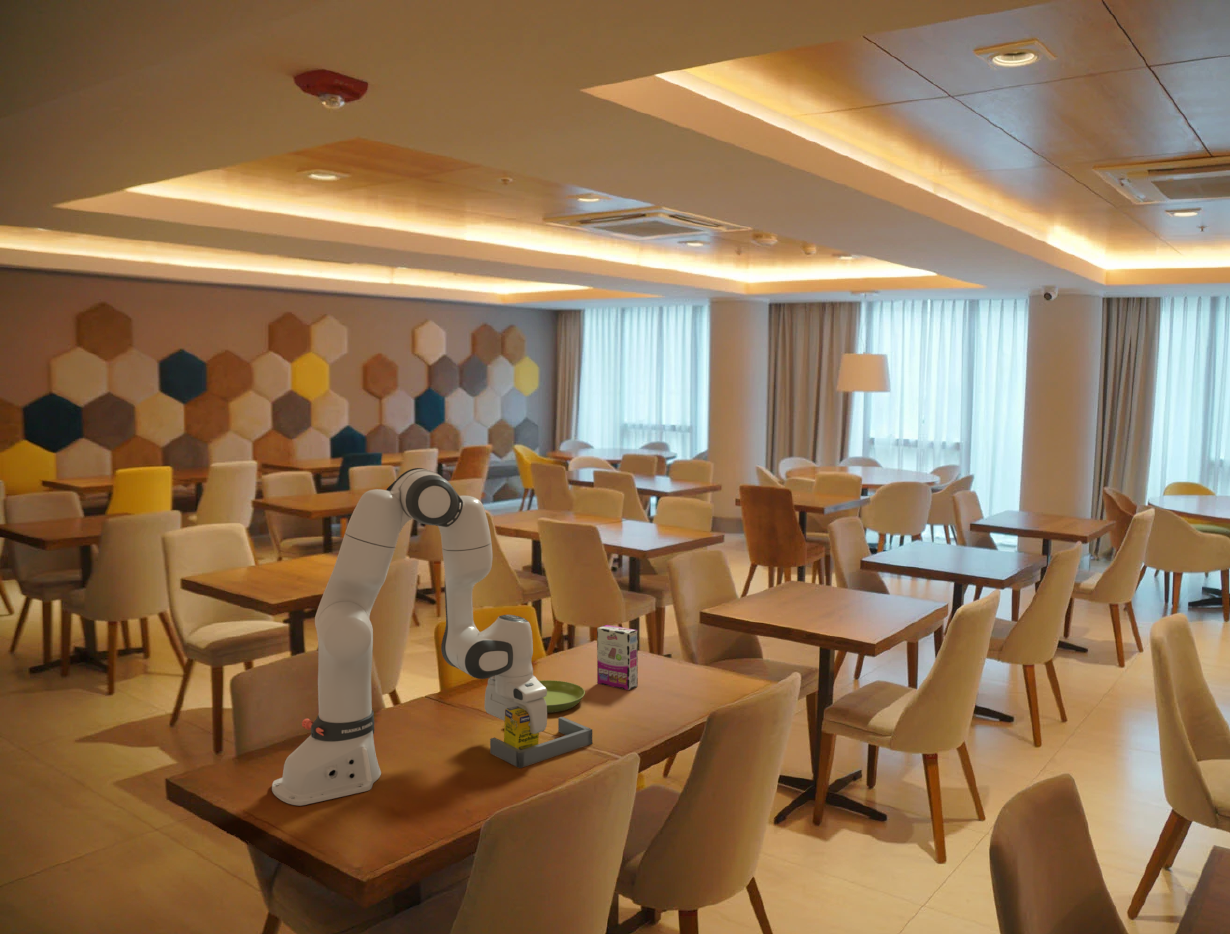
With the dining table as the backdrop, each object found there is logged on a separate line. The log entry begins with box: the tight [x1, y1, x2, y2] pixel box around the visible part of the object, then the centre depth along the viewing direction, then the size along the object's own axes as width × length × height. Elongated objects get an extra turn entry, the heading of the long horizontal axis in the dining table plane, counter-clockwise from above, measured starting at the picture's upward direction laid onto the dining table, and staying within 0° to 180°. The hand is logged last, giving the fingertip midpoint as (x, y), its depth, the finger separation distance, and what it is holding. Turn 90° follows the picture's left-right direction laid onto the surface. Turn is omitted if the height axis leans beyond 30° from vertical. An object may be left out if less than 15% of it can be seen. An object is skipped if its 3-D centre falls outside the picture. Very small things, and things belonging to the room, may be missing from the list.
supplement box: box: [503, 706, 540, 750], centre depth 215 cm, size 6×6×11 cm
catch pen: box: [489, 716, 593, 769], centre depth 220 cm, size 21×11×4 cm, turn 132°
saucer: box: [538, 679, 586, 714], centre depth 252 cm, size 21×21×3 cm
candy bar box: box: [596, 624, 639, 691], centre depth 266 cm, size 11×5×16 cm, turn 55°
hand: (514, 740), depth 220 cm, fingers closed
